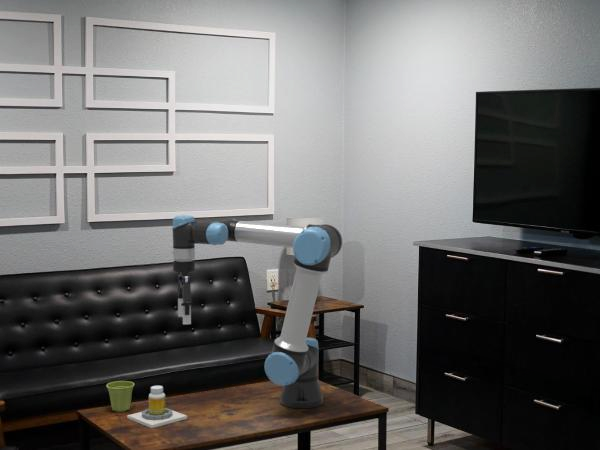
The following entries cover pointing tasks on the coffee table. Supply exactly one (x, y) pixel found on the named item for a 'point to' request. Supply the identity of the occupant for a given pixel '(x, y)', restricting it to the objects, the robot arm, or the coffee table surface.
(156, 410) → the supplement bottle
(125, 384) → the plant pot
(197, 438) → the coffee table surface
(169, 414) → the socket
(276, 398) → the coffee table surface
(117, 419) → the coffee table surface
